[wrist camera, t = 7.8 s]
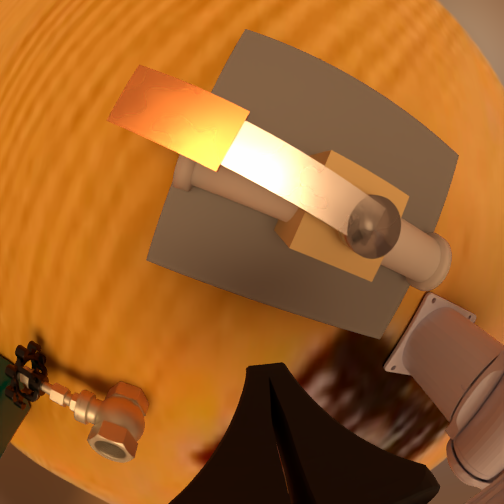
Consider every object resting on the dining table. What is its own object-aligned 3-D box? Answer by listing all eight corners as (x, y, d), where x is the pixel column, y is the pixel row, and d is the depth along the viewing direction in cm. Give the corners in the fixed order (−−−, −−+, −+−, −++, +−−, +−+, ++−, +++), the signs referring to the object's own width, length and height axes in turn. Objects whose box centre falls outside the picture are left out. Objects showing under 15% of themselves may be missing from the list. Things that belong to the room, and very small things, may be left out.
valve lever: (390, 211, 12) (414, 217, 10) (365, 258, 12) (385, 271, 11) (153, 78, 10) (140, 62, 8) (123, 130, 10) (105, 122, 8)
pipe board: (450, 155, 17) (498, 156, 12) (374, 333, 21) (406, 371, 15) (244, 36, 14) (250, -9, 9) (150, 255, 17) (122, 286, 12)
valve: (156, 379, 20) (36, 327, 18) (140, 439, 14) (-4, 366, 12) (147, 423, 22) (41, 376, 20) (134, 475, 15) (12, 417, 13)
